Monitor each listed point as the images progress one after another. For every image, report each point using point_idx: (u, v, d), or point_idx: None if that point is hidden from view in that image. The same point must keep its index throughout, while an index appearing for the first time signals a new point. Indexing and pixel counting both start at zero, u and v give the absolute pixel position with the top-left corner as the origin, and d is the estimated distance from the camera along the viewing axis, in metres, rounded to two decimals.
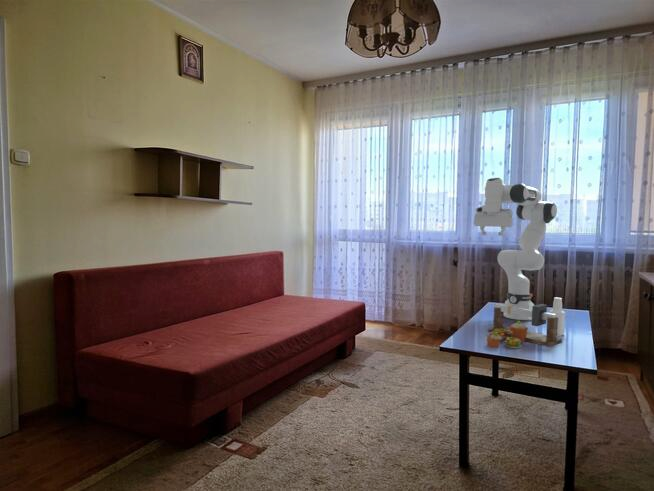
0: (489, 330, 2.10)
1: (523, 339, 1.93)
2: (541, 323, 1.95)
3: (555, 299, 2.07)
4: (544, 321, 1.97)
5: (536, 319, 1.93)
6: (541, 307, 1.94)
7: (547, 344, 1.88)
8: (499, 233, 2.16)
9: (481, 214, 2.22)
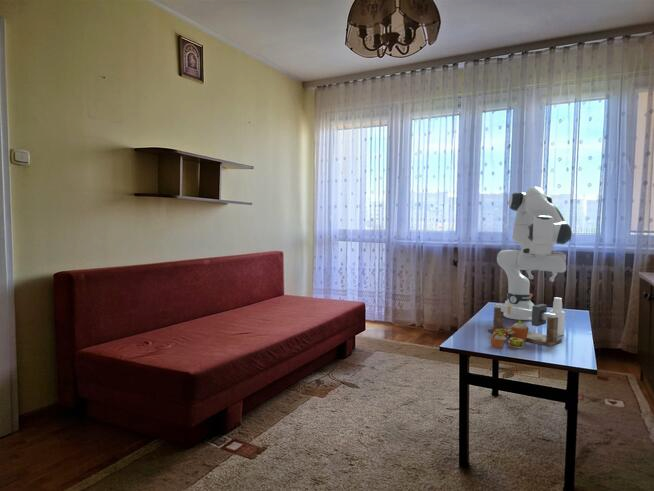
0: (489, 330, 2.10)
1: (524, 339, 1.94)
2: (541, 323, 1.95)
3: (555, 299, 2.07)
4: (544, 321, 1.97)
5: (536, 319, 1.93)
6: (541, 307, 1.94)
7: (547, 344, 1.88)
8: (550, 279, 1.91)
9: (528, 256, 1.97)
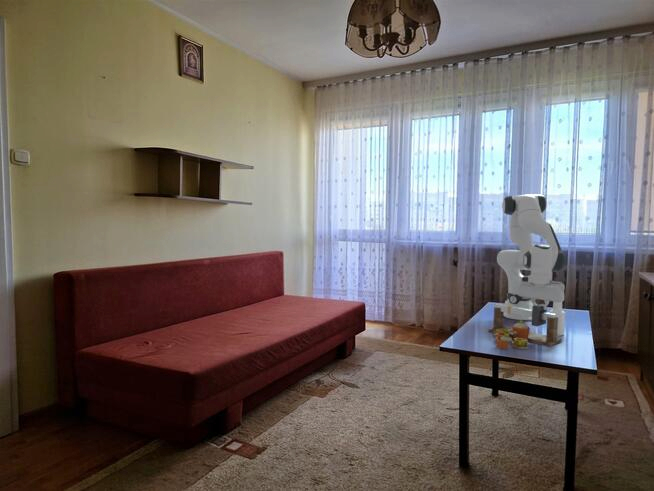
0: (489, 330, 2.10)
1: (526, 339, 1.94)
2: (541, 323, 1.95)
3: None
4: (544, 321, 1.97)
5: (536, 319, 1.93)
6: (541, 307, 1.94)
7: (547, 344, 1.88)
8: (542, 307, 1.94)
9: (527, 284, 1.98)
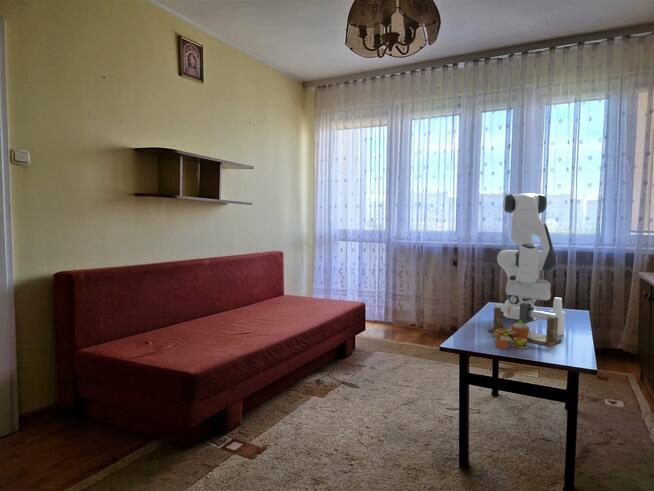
0: (489, 330, 2.10)
1: (525, 338, 1.94)
2: (528, 320, 2.00)
3: (555, 299, 2.07)
4: (531, 319, 2.02)
5: (523, 317, 1.97)
6: (528, 305, 1.99)
7: (547, 344, 1.88)
8: (529, 305, 1.99)
9: (514, 283, 2.02)
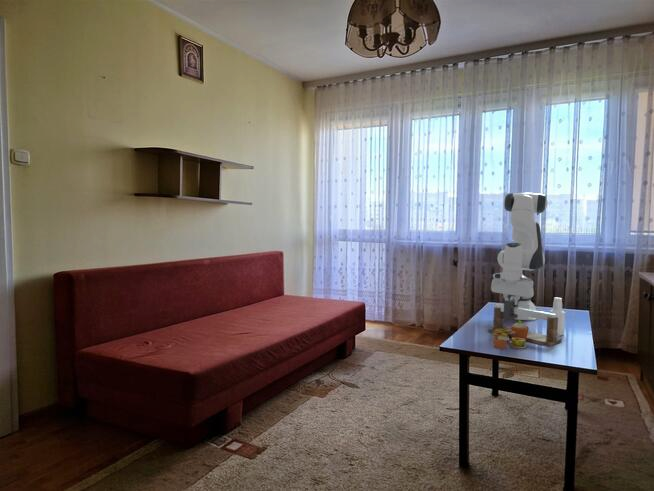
0: (489, 330, 2.10)
1: (525, 339, 1.94)
2: (512, 317, 2.06)
3: (555, 299, 2.07)
4: (515, 315, 2.08)
5: (507, 313, 2.03)
6: (512, 302, 2.05)
7: (547, 344, 1.88)
8: (513, 302, 2.05)
9: (499, 281, 2.09)
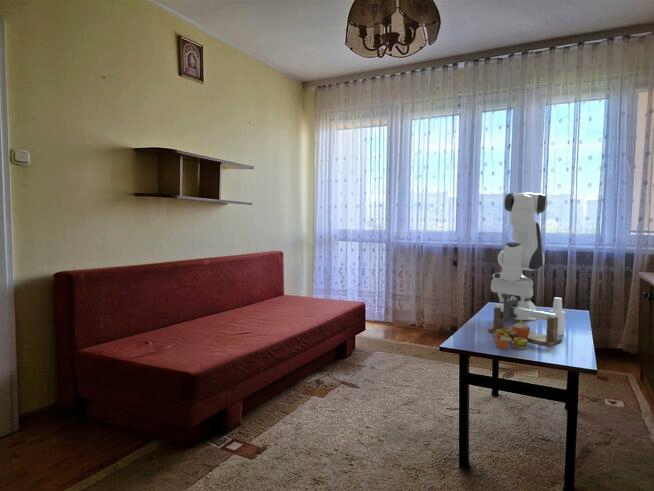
0: (489, 330, 2.10)
1: (526, 339, 1.94)
2: (512, 317, 2.06)
3: (555, 299, 2.07)
4: (515, 315, 2.08)
5: (507, 313, 2.04)
6: (512, 302, 2.05)
7: (547, 344, 1.88)
8: (518, 303, 2.03)
9: (499, 280, 2.09)
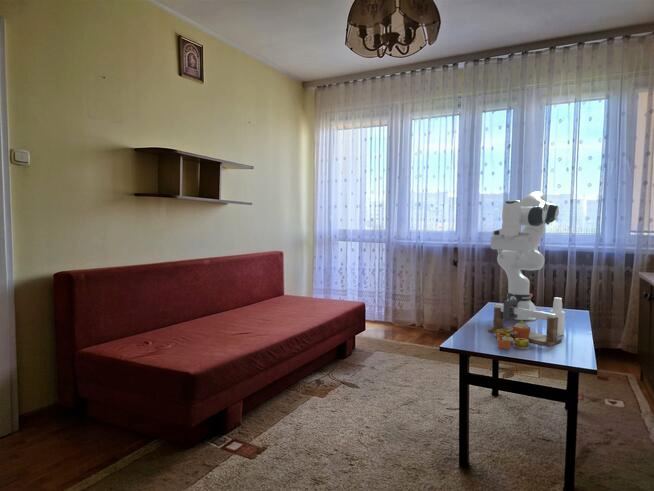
0: (489, 330, 2.10)
1: (527, 339, 1.94)
2: (512, 317, 2.06)
3: (555, 299, 2.07)
4: (515, 315, 2.08)
5: (507, 313, 2.04)
6: (512, 302, 2.05)
7: (547, 344, 1.88)
8: (518, 257, 2.09)
9: (498, 237, 2.15)
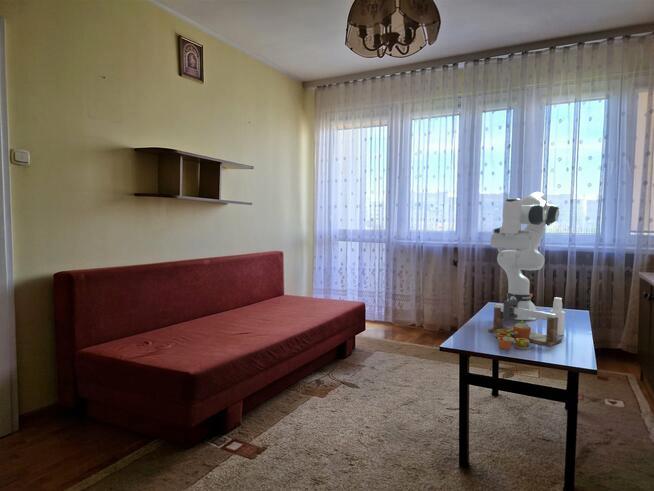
0: (489, 330, 2.10)
1: (527, 339, 1.94)
2: (512, 317, 2.06)
3: (555, 299, 2.07)
4: (515, 315, 2.08)
5: (507, 313, 2.04)
6: (512, 302, 2.05)
7: (547, 344, 1.88)
8: (518, 255, 2.09)
9: (499, 235, 2.15)
